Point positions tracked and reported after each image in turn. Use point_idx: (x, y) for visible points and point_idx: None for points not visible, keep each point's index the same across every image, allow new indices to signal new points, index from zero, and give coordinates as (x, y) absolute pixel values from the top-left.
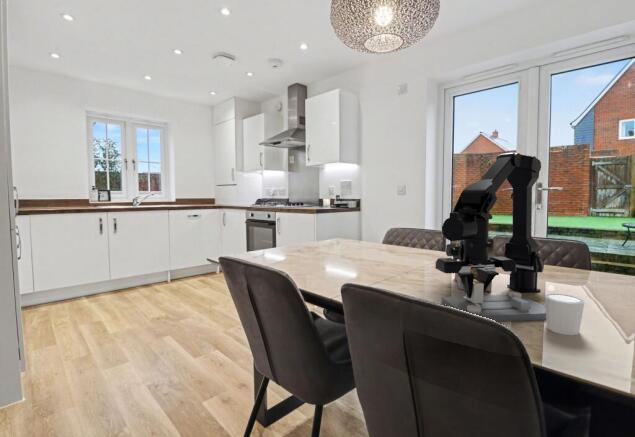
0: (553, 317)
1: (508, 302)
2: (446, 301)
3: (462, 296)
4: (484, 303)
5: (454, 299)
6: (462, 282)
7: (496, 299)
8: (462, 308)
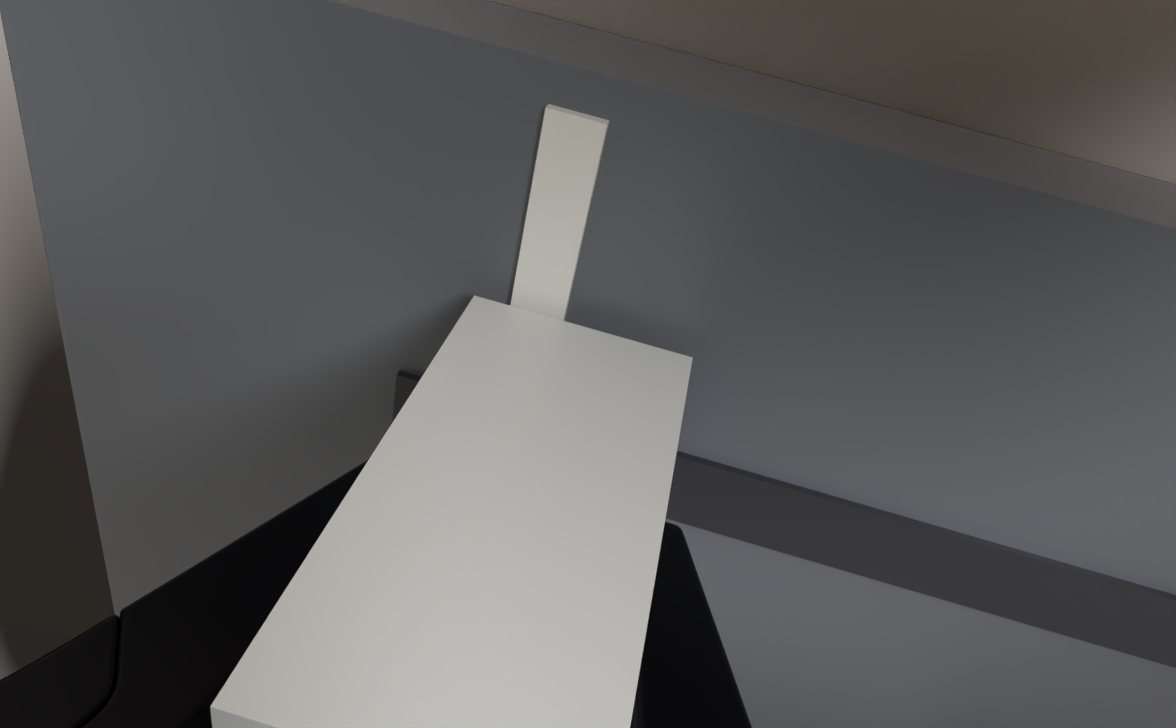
0: None
1: (1156, 718)
2: (50, 159)
3: (561, 72)
4: None
5: (229, 189)
6: (47, 669)
7: (1159, 544)
8: (161, 562)
